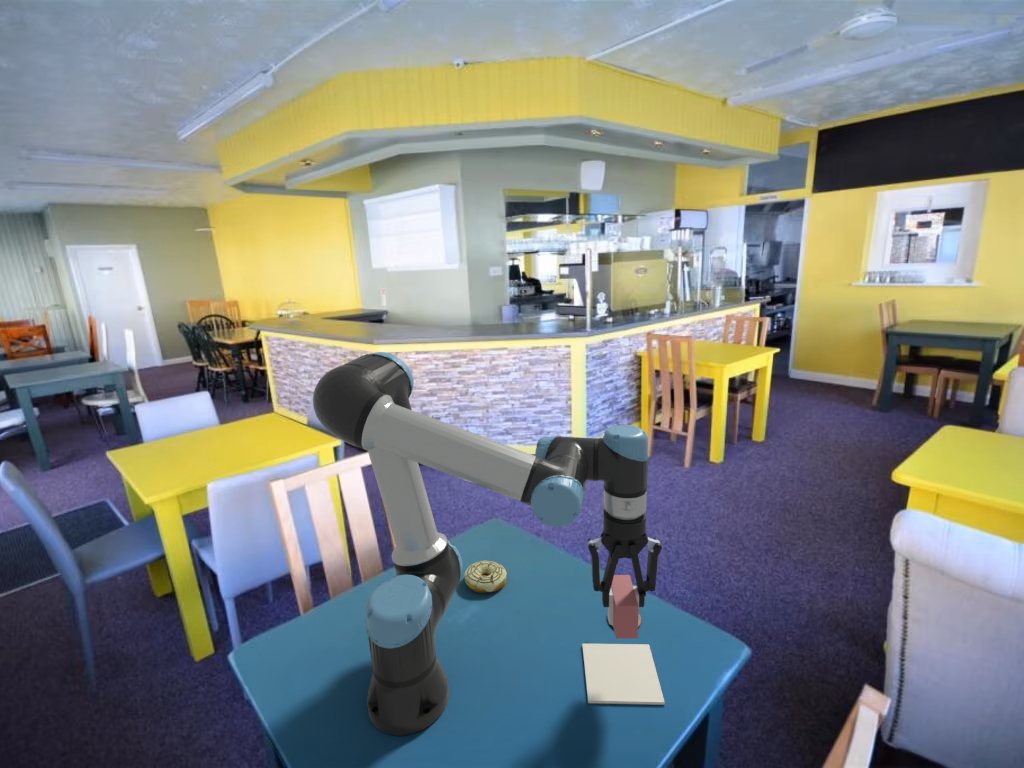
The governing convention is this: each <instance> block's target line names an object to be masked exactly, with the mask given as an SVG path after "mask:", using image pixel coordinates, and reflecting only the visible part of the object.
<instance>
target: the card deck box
mask: <svg viewBox="0 0 1024 768" xmlns="http://www.w3.org/2000/svg"><path fill="white" fill-rule="evenodd" d="M611 586H612V591H613V595H614V597H613V627H612V628H613V632H614V636H615V638H614V639H626V640H627V639H629V640H630V639H632V640H633V639H635V640H636V639H639V637H638V636H639V632H638V631H639V627H638V603H637V599H636V595H635V592H634V588H633V586H634V585H633V582H632V578H631V575H630V574H614V577H613V581H612V585H611Z"/></svg>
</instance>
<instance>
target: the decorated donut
mask: <svg viewBox="0 0 1024 768" xmlns="http://www.w3.org/2000/svg"><path fill="white" fill-rule="evenodd" d="M463 574H464V575H463V576H464V582H465V584H466V585H467V587H468V588H469V589H470V590H471V591H474V592H476V593H480V594H481V593H483V594H485V593H495V592H497V591H499V590H500V589H502V588H503V587H505V585H506V582H507V571H506V569H505V567H504V566H503V565H502V564H500V563H498V562H496V561H492V560H479V561H476V562H473V563H472V564H470V565H469V566H468V567H467V568H466V570H465V571H464V573H463Z"/></svg>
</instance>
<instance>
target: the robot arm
mask: <svg viewBox="0 0 1024 768" xmlns="http://www.w3.org/2000/svg"><path fill="white" fill-rule="evenodd" d="M413 389H414V377H413V373H412V371H411V369H410V368H409V366H408V364H407V363H406V362H404V360H402V359H401V358H400V357H398V356H396V355H395V354H392V353H389V352H385V351H378V352H377V351H375V352H372V353H366V354H364V355H360V356H359V357H357V358H355V359H353V360H351V361H348V362H346V363H344V364H342V365H339V366H336V367H334V368H332V369H330V370H328V371H327V372H325V374H323V375H322V377H321V378H320V379H319V380H318V381H317V384H316V386H315V388H314V391H313V397H312V406H313V410H314V412H315V415H316V418H317V420H318V421H319V422H320V424H321V426H322V427H324V428H325V430H327V431H328V432H329V433H330V434H332V435H333V436H334V437H336V438H337V439H339V440H341V441H343V442H345V443H347V444H349V445H352V446H354V447H357V448H360V449H362V450H365V451H367V453H368V456H369V460H370V463H371V467H372V470H373V473H374V476H375V480H376V482H377V483H376V484H377V486H378V489H379V493H380V497H381V500H382V503H383V506H384V510H385V513H386V516H387V520H388V523H389V527H390V529H391V533H392V536H393V540H394V544H395V548H394V549H393V550H392V552H391V560H392V564H393V567H394V571H395V574H396V575H395V576H393V577H390V578H389V579H388V581H385V580H384V581H383V582H381V583H380V584H378V585H377V586H376V587H375V588H374V589H373V591H372V592H371V593H370V595H369V597H368V599H367V602H366V604H365V605H366V606H365V629H366V632H367V637H368V638H367V640H368V647H369V652H370V659H371V660H370V661H371V667H372V675H371V679H370V682H369V683H370V684H369V687H368V690H367V695H366V705H367V707H366V708H367V712H368V713H367V714H368V717H369V720H370V721H371V723H372V725H373V726H374V727H375V728H376V729H377V730H378V731H381V732H382V733H384V734H387V735H390V736H409V735H413V734H416V733H419V732H422V730H424V729H426V728H428V727H430V726H431V725H432V724H433V723H435V722H436V721H437V720H438V719H439V718H440V717H441V715H442V713H443V712H444V711H445V708H446V707H447V704H448V701H449V697H450V696H449V694H450V693H449V683H448V677H447V675H446V672H445V671H444V668H443V667H442V665H441V663H440V661H439V659H438V658H437V657H438V656H437V652H436V651H437V650H436V642H435V634H436V629H437V627H438V625H439V623H440V621H441V619H442V618H443V615H444V613H445V611H446V609H447V607H448V606H449V603H450V601H451V599H452V598H453V596H454V594H455V593H456V592H455V591H456V590H457V588H458V587H459V584H460V583H461V579H462V574H463V569H464V568H463V567H464V565H463V560H462V556H461V553H460V552H459V550H458V548H457V547H456V546H455V545H452V544H451V542H450V541H449V540H448V538H447V536H446V535H445V534H444V533H441V532H439V531H438V530H437V526H436V523H435V519H434V516H433V511H432V508H431V504H430V500H429V497H428V494H427V493H428V492H427V490H426V487H425V483H424V480H423V475H422V471H421V469H420V465H424V467H429V468H431V469H434V470H436V471H438V472H442V473H444V474H447V475H449V476H452V477H455V478H458V479H460V480H462V481H466V482H468V483H470V484H473V485H475V486H478V487H481V488H483V489H486V490H490V491H492V492H494V493H497V494H500V495H503V496H504V497H505V496H506V497H508V498H510V499H513V500H516V501H518V502H521V503H523V504H526V505H528V506H531V507H530V508H531V511H532V513H533V515H534V516H535V518H537V520H538V521H539V522H540V523H542V525H545V526H547V527H551V528H562V527H567V526H569V525H570V524H573V522H575V520H577V518H578V516H579V515H580V513H581V510H582V506H583V504H584V501H585V494H586V493H585V491H586V483H587V481H593V482H596V481H597V482H600V481H601V482H603V508H604V509H603V530H602V533H601V534H600V537H599V538H598V537H597V538H595V539H594V538H592V537H589V538H588V539H586V540H587V541H586V542H587V547H588V550H589V553H590V557H591V560H590V561H591V577H592V578H591V579H592V586H593V587H592V588H593V590H594V592H601V601H602V602H601V603H602V606H603V608H607V615H608V619H607V621H608V620H609V622H608V625H613V597H614V595H613V591H612V586H611V585H612V581H613V577H614V575H615V572H616V568H617V566H618V564H619V561H620V559H624V558H626V559H630V560H631V565H632V569H633V574H634V579H635V584H636V585H633V588H634V592H635V595H636V599H637V603H638V619H639V615H640V613H639V612H640V611H639V609H640V608H644V606H645V599H646V598H645V597H646V595H647V592H649V591H650V592H655V590H656V585H657V584H656V583H657V573H658V572H657V571H658V561H659V556H660V553H661V551H662V550H663V547H662V544H661V541H660V539H659V538H658V537H654V538H651V537H649V536H648V534H647V533H646V532H647V531H646V530H647V528H646V527H647V513H646V511H647V489H648V468H649V442H648V441H649V439H648V435H647V433H646V431H644V429H642V428H640V427H638V426H635V425H631V424H630V425H629V424H619V425H612V426H608V427H607V428H606V429H605V430H604V433H603V436H602V437H599V438H597V437H593V438H592V437H578V436H577V437H575V436H561V435H555V436H542V437H540V438H539V439H538V440H537V442H536V447H535V453H534V454H531V453H528V452H526V451H523V450H521V449H517V448H516V447H515V448H514V447H512V446H509V445H506V444H504V443H502V442H499V441H496V440H493V439H490V438H487V437H485V436H482V435H479V434H476V433H474V432H472V431H468V430H467V429H463V428H461V427H458V426H455V425H452V424H449V423H447V422H444V421H442V420H438V419H436V418H433V417H432V416H429V415H425V414H423V413H420V412H417V411H415V410H412V406H411V402H410V397H411V396H412V392H413ZM419 464H420V465H419ZM602 546H604V548H606V550H607V551H608V558H607V560H606V566H605V569H604V572H603V577H602V580H601V579H600V578H601V575H600V557H599V553H600V551H601V550H602ZM646 546H647V550H648V551H647V552H648V553H647V563H646V575H645V576H646V577H645V580H644V579H643V575H642V570H641V563H640V558H639V554H640V552H641V551H642V550H643V549H644V548H645V547H646Z"/></svg>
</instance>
